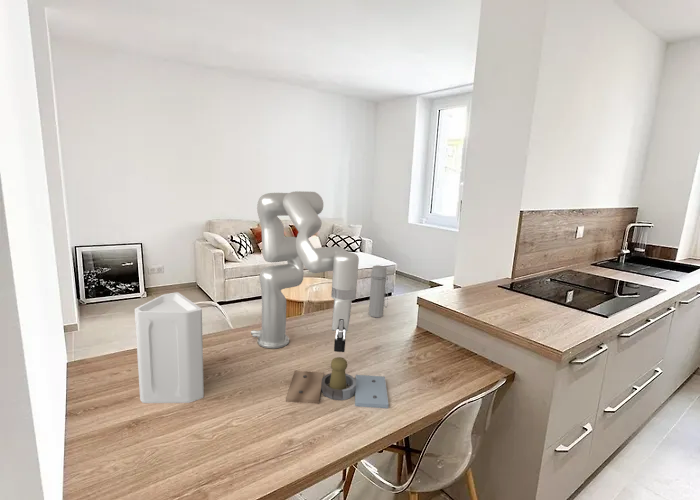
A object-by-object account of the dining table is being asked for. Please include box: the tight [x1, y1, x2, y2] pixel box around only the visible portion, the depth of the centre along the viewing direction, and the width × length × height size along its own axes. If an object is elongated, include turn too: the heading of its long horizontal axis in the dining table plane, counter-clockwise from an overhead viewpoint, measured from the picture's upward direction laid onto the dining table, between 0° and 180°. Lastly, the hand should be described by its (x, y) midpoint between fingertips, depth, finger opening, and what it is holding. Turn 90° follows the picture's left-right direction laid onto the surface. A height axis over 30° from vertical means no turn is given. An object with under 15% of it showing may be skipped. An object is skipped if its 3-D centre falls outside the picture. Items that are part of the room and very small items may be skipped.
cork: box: [328, 356, 348, 390], centre depth 119 cm, size 6×6×11 cm
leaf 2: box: [341, 373, 389, 409], centre depth 120 cm, size 14×16×3 cm
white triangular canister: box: [134, 291, 205, 404], centre depth 112 cm, size 19×15×28 cm
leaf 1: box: [285, 370, 343, 405], centre depth 120 cm, size 17×16×3 cm
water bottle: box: [368, 264, 389, 318], centre depth 184 cm, size 9×8×25 cm
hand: (340, 343), depth 118 cm, fingers open, 9 cm apart
